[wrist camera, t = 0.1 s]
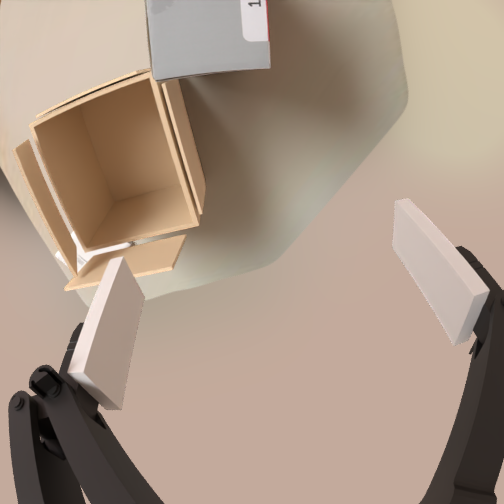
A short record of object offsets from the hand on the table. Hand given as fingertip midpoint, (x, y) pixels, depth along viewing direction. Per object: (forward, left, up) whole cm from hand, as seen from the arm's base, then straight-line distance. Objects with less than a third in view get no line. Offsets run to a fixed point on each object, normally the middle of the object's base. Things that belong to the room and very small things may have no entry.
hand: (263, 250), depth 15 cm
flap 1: (-1, -19, -12) cm, 23 cm away
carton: (-1, -13, -28) cm, 31 cm away
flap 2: (+6, -13, -12) cm, 19 cm away
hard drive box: (-15, 0, -28) cm, 32 cm away
